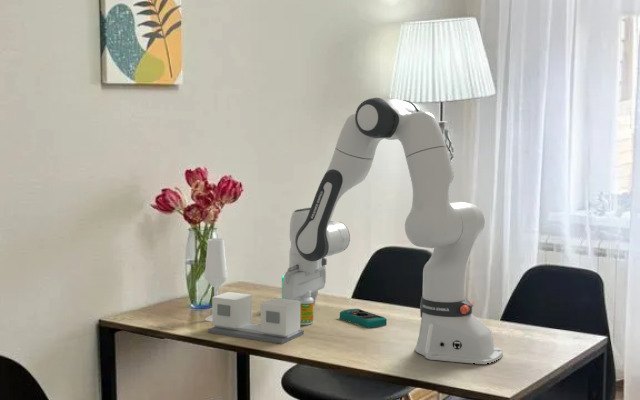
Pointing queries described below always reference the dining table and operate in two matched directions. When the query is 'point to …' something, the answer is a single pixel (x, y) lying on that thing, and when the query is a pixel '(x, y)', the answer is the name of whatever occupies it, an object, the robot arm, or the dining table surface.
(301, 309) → the supplement bottle
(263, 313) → the board
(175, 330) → the dining table surface
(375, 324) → the digital multimeter
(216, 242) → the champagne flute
